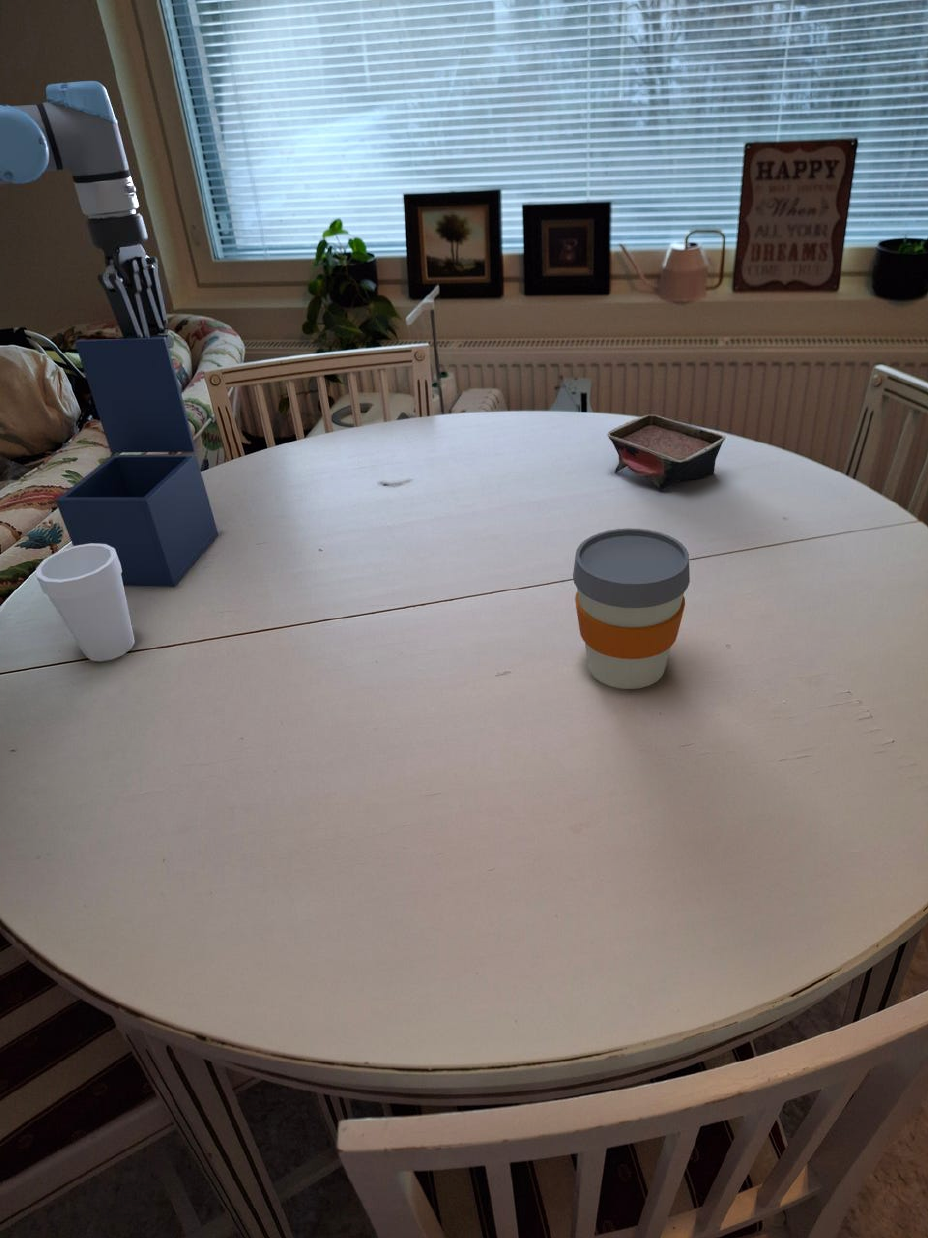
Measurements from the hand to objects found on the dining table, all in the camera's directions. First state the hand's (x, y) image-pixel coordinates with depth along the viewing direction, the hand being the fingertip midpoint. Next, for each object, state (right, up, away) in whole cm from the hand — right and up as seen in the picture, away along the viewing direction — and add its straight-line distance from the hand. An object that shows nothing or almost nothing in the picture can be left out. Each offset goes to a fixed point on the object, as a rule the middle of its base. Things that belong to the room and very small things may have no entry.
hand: (161, 380), depth 125 cm
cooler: (-1, -28, 0) cm, 28 cm away
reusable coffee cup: (+67, -43, -30) cm, 85 cm away
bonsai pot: (+82, -13, +12) cm, 83 cm away
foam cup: (+1, -41, -19) cm, 45 cm away
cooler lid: (-1, -5, -6) cm, 8 cm away
